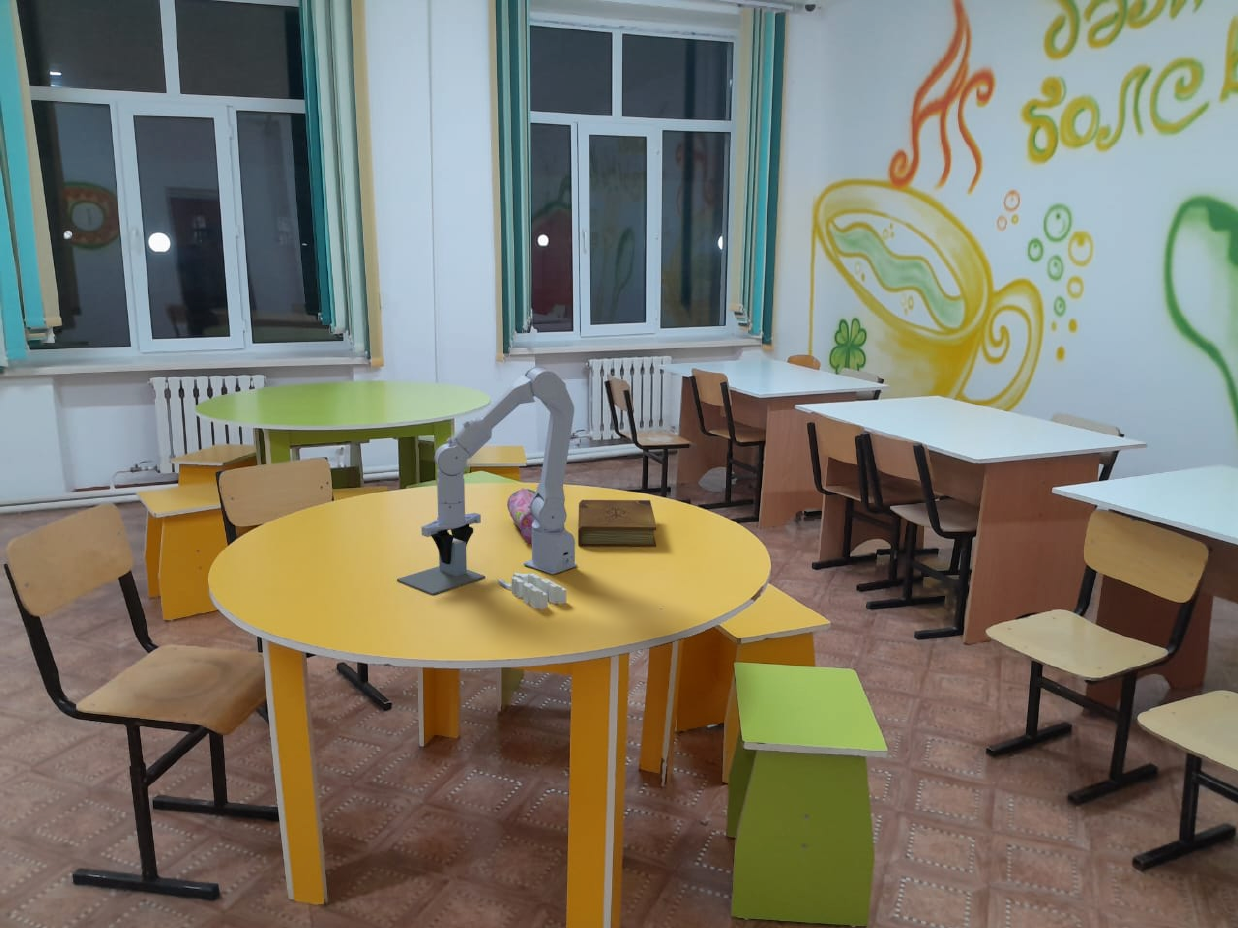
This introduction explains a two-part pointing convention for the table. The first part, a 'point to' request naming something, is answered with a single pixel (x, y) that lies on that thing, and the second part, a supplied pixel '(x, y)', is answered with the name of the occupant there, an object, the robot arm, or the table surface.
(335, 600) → the table surface
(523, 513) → the pencil case
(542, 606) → the modular blocks
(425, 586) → the mat
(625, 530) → the diary
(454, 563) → the block
